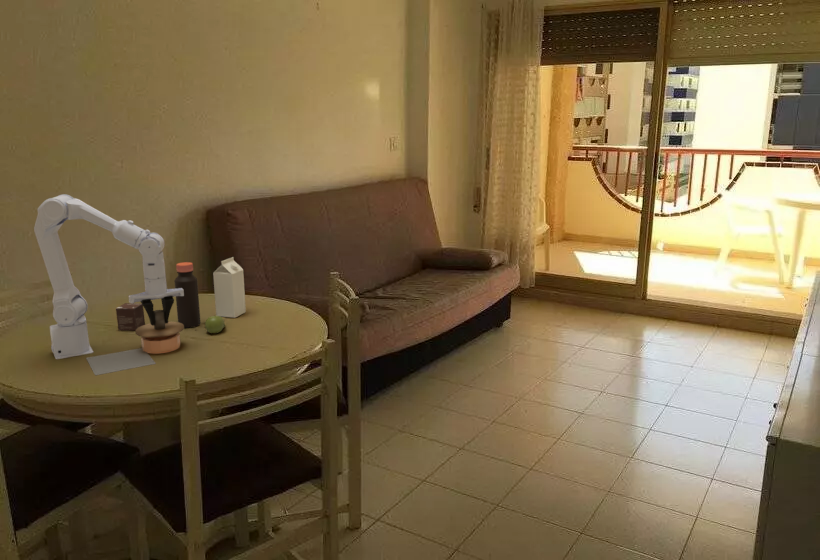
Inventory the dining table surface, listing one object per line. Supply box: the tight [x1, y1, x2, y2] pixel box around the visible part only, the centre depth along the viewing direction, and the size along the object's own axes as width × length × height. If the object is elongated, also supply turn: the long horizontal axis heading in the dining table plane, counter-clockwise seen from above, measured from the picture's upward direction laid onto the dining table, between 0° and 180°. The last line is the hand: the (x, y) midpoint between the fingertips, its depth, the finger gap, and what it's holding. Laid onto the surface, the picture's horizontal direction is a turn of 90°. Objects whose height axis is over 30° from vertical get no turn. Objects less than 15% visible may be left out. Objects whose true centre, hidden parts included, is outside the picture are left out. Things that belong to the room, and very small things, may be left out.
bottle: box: [174, 261, 201, 329], centre depth 211 cm, size 7×7×20 cm
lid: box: [135, 309, 185, 338], centre depth 189 cm, size 13×13×6 cm
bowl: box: [140, 332, 181, 355], centre depth 191 cm, size 10×10×4 cm
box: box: [115, 302, 146, 332], centre depth 209 cm, size 6×6×7 cm
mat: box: [85, 347, 156, 376], centre depth 181 cm, size 15×15×1 cm
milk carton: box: [212, 256, 247, 319], centre depth 222 cm, size 7×7×19 cm
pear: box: [204, 315, 226, 334], centre depth 207 cm, size 6×5×10 cm
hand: (159, 323), depth 190 cm, fingers closed on lid, 3 cm apart
